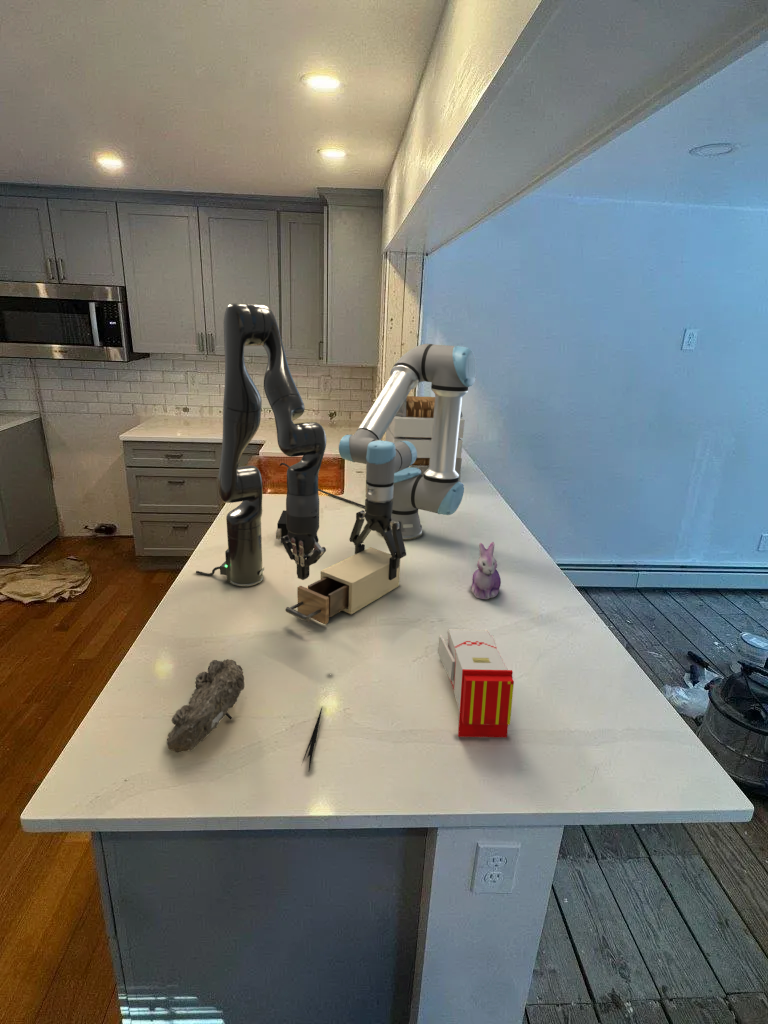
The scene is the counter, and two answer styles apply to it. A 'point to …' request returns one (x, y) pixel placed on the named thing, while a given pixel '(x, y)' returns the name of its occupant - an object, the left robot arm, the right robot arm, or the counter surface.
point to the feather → (313, 740)
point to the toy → (478, 682)
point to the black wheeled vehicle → (281, 526)
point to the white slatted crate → (419, 429)
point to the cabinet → (364, 577)
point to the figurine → (486, 574)
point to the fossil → (206, 705)
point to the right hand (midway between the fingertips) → (376, 572)
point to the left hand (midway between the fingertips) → (303, 578)
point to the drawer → (320, 600)
